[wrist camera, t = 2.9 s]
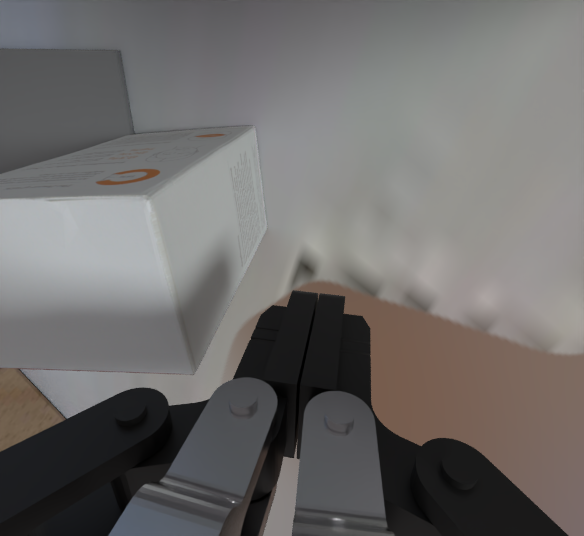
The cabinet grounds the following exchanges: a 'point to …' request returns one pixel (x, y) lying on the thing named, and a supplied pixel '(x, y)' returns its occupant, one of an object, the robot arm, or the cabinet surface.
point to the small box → (127, 250)
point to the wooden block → (22, 409)
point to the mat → (59, 103)
